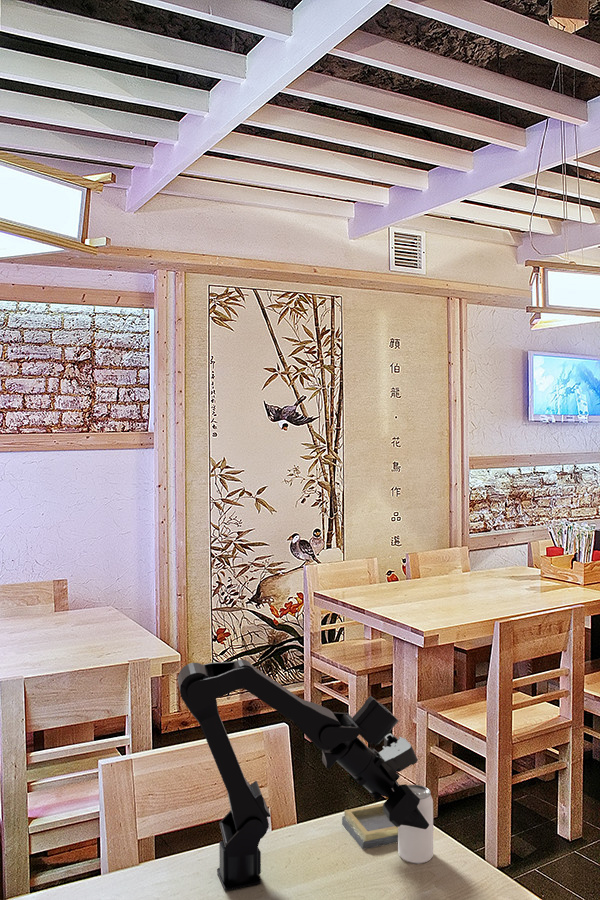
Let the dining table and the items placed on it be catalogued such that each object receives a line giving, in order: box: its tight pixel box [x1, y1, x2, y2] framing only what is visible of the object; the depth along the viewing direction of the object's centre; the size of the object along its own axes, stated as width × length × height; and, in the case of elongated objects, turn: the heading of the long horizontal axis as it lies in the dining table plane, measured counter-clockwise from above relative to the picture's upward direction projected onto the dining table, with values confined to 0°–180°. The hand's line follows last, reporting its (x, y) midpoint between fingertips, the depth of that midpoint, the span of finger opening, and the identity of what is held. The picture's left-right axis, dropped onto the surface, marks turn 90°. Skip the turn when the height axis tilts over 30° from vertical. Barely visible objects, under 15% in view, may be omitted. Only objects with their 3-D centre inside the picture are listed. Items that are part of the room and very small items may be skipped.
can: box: [397, 784, 434, 865], centre depth 141 cm, size 6×6×12 cm
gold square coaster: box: [341, 802, 398, 850], centre depth 150 cm, size 11×10×3 cm
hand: (417, 814), depth 141 cm, fingers open, 9 cm apart
